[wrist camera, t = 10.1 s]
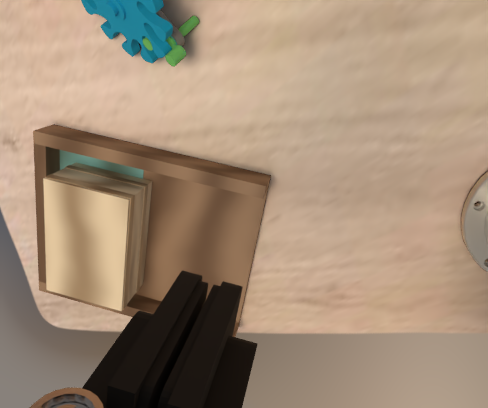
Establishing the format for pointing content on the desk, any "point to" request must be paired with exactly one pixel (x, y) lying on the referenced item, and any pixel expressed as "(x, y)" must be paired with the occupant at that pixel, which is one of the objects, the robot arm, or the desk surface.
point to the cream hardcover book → (95, 234)
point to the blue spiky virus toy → (143, 28)
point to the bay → (167, 211)
